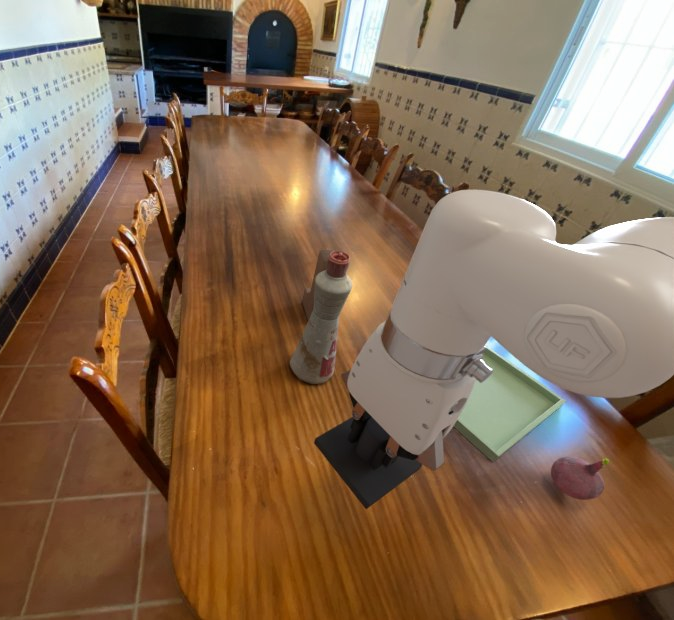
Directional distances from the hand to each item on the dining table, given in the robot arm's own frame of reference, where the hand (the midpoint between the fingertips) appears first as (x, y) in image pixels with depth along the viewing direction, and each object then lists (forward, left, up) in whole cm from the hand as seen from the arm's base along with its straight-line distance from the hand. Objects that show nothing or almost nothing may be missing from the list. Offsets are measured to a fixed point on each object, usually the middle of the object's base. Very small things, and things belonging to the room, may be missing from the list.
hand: (369, 448), depth 43 cm
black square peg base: (0, 0, -2) cm, 2 cm away
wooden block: (+37, -25, -17) cm, 48 cm away
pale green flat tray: (+6, -40, -17) cm, 44 cm away
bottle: (+23, -13, -17) cm, 32 cm away
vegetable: (-16, -34, -17) cm, 41 cm away
